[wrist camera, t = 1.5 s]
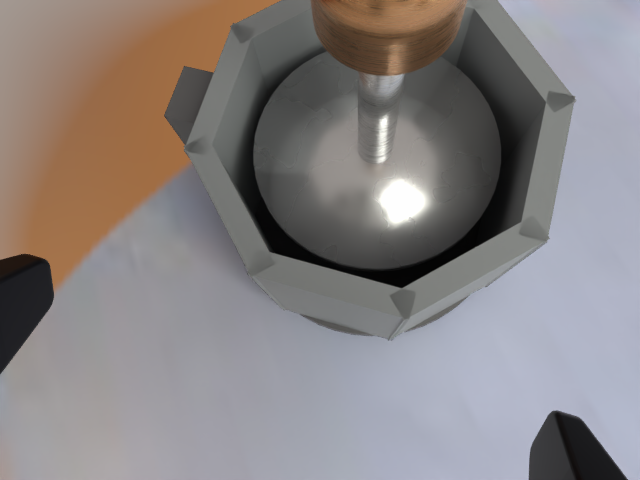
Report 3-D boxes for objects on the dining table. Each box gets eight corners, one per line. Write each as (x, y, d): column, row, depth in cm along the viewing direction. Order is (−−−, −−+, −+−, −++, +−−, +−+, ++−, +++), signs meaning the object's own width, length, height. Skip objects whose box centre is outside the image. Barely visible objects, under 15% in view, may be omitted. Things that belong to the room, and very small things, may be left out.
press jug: (469, 369, 22) (531, 362, 14) (181, 285, 23) (96, 238, 16) (522, 124, 24) (599, 6, 17) (261, 66, 26) (221, -66, 19)
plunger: (467, 301, 17) (631, 181, 7) (224, 235, 18) (59, 48, 8) (517, 78, 19) (703, -270, 9) (296, 31, 20) (235, -324, 10)
